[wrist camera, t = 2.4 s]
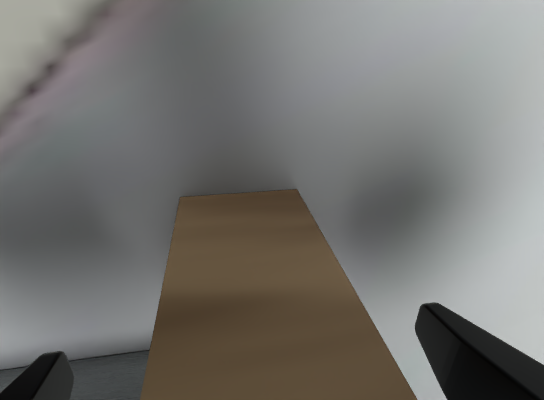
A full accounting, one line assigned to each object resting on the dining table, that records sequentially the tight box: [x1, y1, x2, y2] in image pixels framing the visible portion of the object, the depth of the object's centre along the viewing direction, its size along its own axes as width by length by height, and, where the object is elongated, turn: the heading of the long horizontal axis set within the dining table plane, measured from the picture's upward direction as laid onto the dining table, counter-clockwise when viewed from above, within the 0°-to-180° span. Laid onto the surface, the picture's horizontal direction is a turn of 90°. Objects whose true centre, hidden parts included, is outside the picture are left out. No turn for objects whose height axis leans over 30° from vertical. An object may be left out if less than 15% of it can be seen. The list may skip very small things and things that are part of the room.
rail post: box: [140, 189, 417, 400], centre depth 7 cm, size 4×4×10 cm
